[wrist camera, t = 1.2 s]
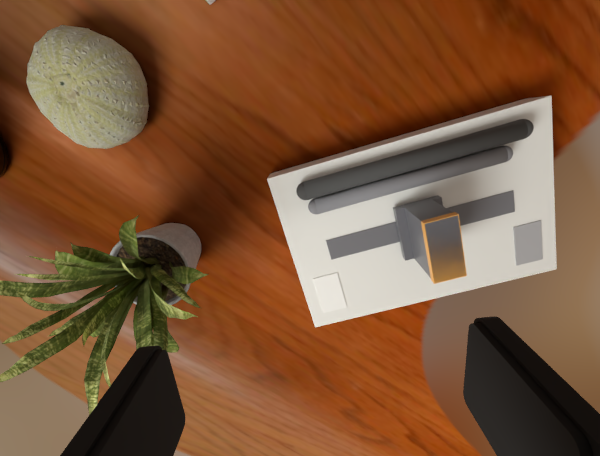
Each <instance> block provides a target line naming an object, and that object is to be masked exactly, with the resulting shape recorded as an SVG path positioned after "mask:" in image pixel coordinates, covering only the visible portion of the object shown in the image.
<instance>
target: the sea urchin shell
mask: <svg viewBox="0 0 600 456" xmlns="http://www.w3.org/2000/svg"><path fill="white" fill-rule="evenodd" d="M27 65H28V69H27V72H28V75H27V81H26V82H27V86H28V89H29V92H30V94H31V96H32V98H33V99H34V101H35V102H36V104H37V106H38V107H39V109H40V111H41V112H42V114H44V116H45V117H47V119H49V120H50V121H51V122H52V123H53V124H54V126H55V127H56V128H57V129H58V130H59V131H61V132H62V133H63V134H65V135H66V136H68V137H69V138H70V139H72V140H73V141H74V142H75V143H77V144H81V145H83V146H86V147H88V148H104V149H106V148H113V147H115V146H117V145H120V144H123V143H127V142H129V141H130V140H131V139H132V138H133V137H135V136H136V135H137V134H139V133H140V132H142V130H143V128H144V126H145V124H146V123H147V117H148V107H149V104H148V94H147V91H148V89H147V83H146V81H145V78H144V75H143V72H142V70H141V68H140V65H139V64H138V62H137V61H136V60H135V58H134V57H133V55H132V53H130V52H128V51H127V50H126V49H125V48H124V47H122V46H121V45H119V44H118V43H117V42H115V41H114V40H113V39H111V38H108V37H106V36H103V35H101V34H98V33H96V32H94V31H92V30H90V29H89V28H81V27H73V26H66V25H63V26H62V25H61V26H59V27H56V28H54V29H52V30H48V31H47V33H46V34H45V35H44V36H43V37H42V38H41V39H40V40H39V41H38V42H36V43H35V45H34V49H33V52H32V55H31V57H30V61H29V63H28V64H27Z"/></svg>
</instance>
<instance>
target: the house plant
mask: <svg viewBox="0 0 600 456" xmlns="http://www.w3.org/2000/svg"><path fill="white" fill-rule="evenodd" d="M137 218H138V216H137V217H136V218H134V219H132V220H130V221H127V222H125V223H123V225H122V226H121V228H120V231H119V237H120V241H119V242H118V243H117V244H116V245H115V246H114V247H113V249H112V251H111V253H110V255H109V254H106V253H103V252H101V251H98V250H95V249H93V248H88V247H80V246H76V245H73V244H72V243H71V246H72V249H73V253H74V255H72V254H69V253H65V252H58V251H56V252H55V260H50V259H43V258H37V257H32V258H36V259H39V260H42V261H46V262H50V263H53V264H55V267H56V269H57V271H58V273H59V274H50V275H40V274H17V275H22V276H26V277H33V278H38V279H45V280H73V281H68V282H57V283H22V282H12V281H0V295H4V296H14V297H21V298H22V299H23V300H24V301H25V302H26V303H28V304H29V305H30V306H32V307H34V308H36V309H41V310H45V311H57V310H60V311H58V312H56V313H55V314H52V315H50V316H48V317H46V318H44V319H42V320H40V321H38V322H36V323H34V324H32V325H30V326H28V327H27V328H25V329H24V330H22V331H21V332H19V333H18V334H17V335H15V336H13V337H10V338H8V339H7V340H6V341H5V342H4V343H2V344H6V343H10V342H15V341H18V340H21V339H24V338H26V337H29V336H31V335H33V334H35V333H37V332H39V331H41V330H43V329H45V328H47V327H49V326H51V325H54V324H55V323H57V322H59V321H61V320H63V319H65V318H67V317H68V316H70V315H71V314H73V313H74V312H76V311H77V310H79V309H80V308H82V307H83V306H85V305H87V304H88V303H90V302H91V301H93V300H94V299H97V298H100V297H102V296H104V295H106V296H105V297H104V298H103V299H102V300H100V301H99V302H98V303H96V304H95V305H93V306H92V307H90V308H89V309H87V310H86V311H84V312H82V313H81V314H79V315H77V316H75V317H73V318H72V319H70V320H69V321H68V322H66V323H65V324H64V325H63V326H62V327H60V328H58V329H56V330H55V331H53V332H52V333H51V334H50V335H49V336H53V335H56V336H54V337H53V338H51V339H49V340H48V341H46V342H45V343H43V344H41V345H40V346H38V347H37V348H35V349H33V350H32V351H30V352H28V353H27V354H25V355H24V356H23V357H22V358H21V359H20V360H19V361H18V362H16V363H15V364H14V365H13V366H12V367H11V368H10V369H9V370H7V371H5V372H4V373H2V374H1V375H0V382H3V381H6V380H8V379H11V378H13V377H15V376H17V375H19V374H21V373H23V372H25V371H27V370H29V369H31V368H32V367H34V366H36V365H38V364H39V363H41V362H43V361H44V360H46V359H47V358H49V357H51V356H52V355H54V354H56V353H58V352H59V351H61V350H63V349H64V348H65V347H67V346H68V345H70V344H71V343H73V342H74V341H76V340H77V339H78V338H79V337H80V336H81V335H82V334H83V338H82V340H83V345H85V342H86V340H87V338H88V336H89V335H90V336H92V337H97V336H98V335H99V336H98V339H97V341H96V343H95V345H94V348H93V350H92V353H91V356H90V358H89V361H88V364H87V369H86V374H85V379H84V382H85V390H86V396H87V400H88V409H89V415H90V414H91V412H92V411H93V410H94V408H95V407H96V406H97V400H98V392H99V383H100V378H101V374H102V371H103V372H104V376H105V379H106V382H107V384H108V386H109V387H110V386H111V384H110V380H109V376H108V371H107V367H106V360H107V358H108V356H109V354H110V352H111V350H112V348H113V346H114V343H115V341H116V338H117V336H118V333H119V331H120V329H121V327H122V325H123V322H124V320H125V318H126V316H127V314H128V311H129V309H130V307H131V305H132V303H135V304H136V307H135V311H134V320H133V325H134V336H135V340H136V348H137V349H138V348H140V347H146V346H157V345H158V346H160V347H161V348H162V350H166V351H167V352H170V353H171V352H178V350H179V347H178V344H177V343H176V341H175V340H174V339H173V337H172V336H171V335H170V333H169V331H168V329H167V316H168V317H170V318H174V317H175V318H179V319H188V318H190V317H193V316H195V315H193V314H191V313H188V312H185V311H182V310H180V309H178V308H175V307H173V306H171V305H172V304H175V303H177V302H178V301H179V300H180V299H183V300H184V301H186V302H187V303H189V304H191V305H193V306H196V307H198V308H200V307H199V306H198V305H197V303H196V302H195V301H194V300H192V299H191V298H190V297H189V296H188V295H187V293H186V292H187V291H188V289H189V286H190V283H193V282H194V281H196V280H198V279H200V278H201V277H203V276H206V275H208V274H203V273H201V272H200V271H198V270H196V266H197V263H198V260H199V257H200V254H201V242H200V239H199V237H198V235H197V234H196V233H195V232H194V231H193V230H192V229H191V228H190V227H188V226H186V225H184V224H179V223H166V224H163V225H160V226H157V227H154V228H151V229H148V230H145V231H142V232H139V233H136V231H135V224H136V219H137ZM29 257H31V256H29ZM100 285H102V286H101V287H99V288H97V289H95V290H94V291H92V292H90V293H89V294H87V295H86V296H84V297H83V298H81V299H80V300H78V301H77V302H75V303H69V304H48V303H41V302H37V301H35V300H33V299H31V298H34V297H50V296H54V295H58V294H63V293H67V292H72V291H78V290H83V289H88V288H92V287H96V286H100ZM113 287H115V288H114V289H113V290H111V291H109V292H107V291H108V290H110V289H112V288H113ZM105 292H106V293H105ZM30 297H31V298H30ZM196 317H197V316H196ZM152 330H153V332H154V334H153V332H152Z"/></svg>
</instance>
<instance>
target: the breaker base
mask: <svg viewBox="0 0 600 456" xmlns="http://www.w3.org/2000/svg"><path fill="white" fill-rule="evenodd" d="M267 181H268V184H269V187H270V190H271V193H272V196H273V199H274V202H275V205H276V208H277V211H278V215H279V218H280V221H281V224H282V227H283V230H284V233H285V236H286V239H287V242H288V245H289V248H290V251H291V254H292V257H293V261H294V264H295V267H296V270H297V273H298V276H299V279H300V282H301V285H302V288H303V291H304V294H305V297H306V300H307V303H308V307H309V310H310V313H311V316H312V319H313V322H314V325H315V327H319V326H323V325H327V324H331V323H336V322H340V321H344V320H348V319H352V318H356V317H360V316H365V315H369V314H373V313H377V312H381V311H385V310H389V309H393V308H398V307H402V306H406V305H410V304H414V303H418V302H422V301H427V300H431V299H435V298H439V297H443V296H447V295H451V294H456V293H460V292H464V291H468V290H472V289H476V288H480V287H485V286H488V285H493V284H497V283H501V282H505V281H509V280H514V279H518V278H522V277H526V276H529V275H534V274H538V273H542V272H547V271H551V270H555V269H557V268H556V235H555V233H556V232H555V197H554V162H553V127H552V96H543V97H534V98H525V99H522V100H519V101H515V102H512V103H508V104H505V105H502V106H498V107H495V108H491V109H488V110H485V111H481V112H478V113H474V114H471V115H468V116H464V117H461V118H457V119H454V120H451V121H447V122H444V123H440V124H437V125H434V126H430V127H427V128H423V129H420V130H417V131H413V132H410V133H406V134H403V135H400V136H396V137H393V138H389V139H386V140H383V141H379V142H376V143H372V144H369V145H366V146H362V147H359V148H355V149H352V150H349V151H345V152H342V153H338V154H335V155H332V156H328V157H325V158H321V159H318V160H315V161H311V162H308V163H304V164H301V165H298V166H294V167H291V168H287V169H284V170H281V171H277V172H274V173H270V175H269V176H268V178H267ZM437 195H438V196H440V197H442V202H443V206H444V207H445V208H447V209H449V210H450V211H452V212H456V213H457V214H459V220H460V228H461V236H462V243H463V251H464V258H465V266H466V273H467V276H464V277H460V278H456V279H452V280H448V281H444V282H440V283H436V284H434V283H433V282H432V281H431V278H430V277H429V276H428V275H427V273H426V272H425V271H424V270H423V268H422V267H421V266H420V265H419V264H418V262H417V261H416V260H415V259H410V260H406V261H405V259H404V258H403V256H402V251H401V246H400V241H399V236H398V231H397V226H396V221H395V216H394V211H393V207H397V206H400V205H404V204H408V203H411V202H415V201H419V200H422V199H426V198H430V197H433V196H437Z"/></svg>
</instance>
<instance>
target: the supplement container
mask: <svg viewBox="0 0 600 456" xmlns="http://www.w3.org/2000/svg"><path fill="white" fill-rule="evenodd" d="M7 164H8V153H7V149H6V146H5V143H4V141H3V139H2V138H1V136H0V177H1V176H2V175H3V173H4V172H5V170H6V167H7Z"/></svg>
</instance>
